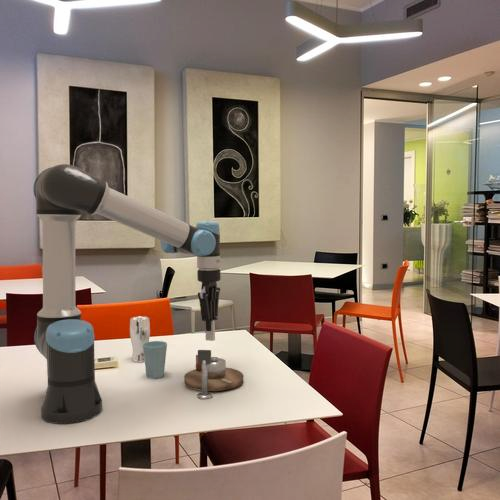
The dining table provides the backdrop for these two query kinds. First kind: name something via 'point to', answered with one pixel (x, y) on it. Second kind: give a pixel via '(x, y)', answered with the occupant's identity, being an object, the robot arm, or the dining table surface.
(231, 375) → the turntable
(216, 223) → the robot arm
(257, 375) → the dining table surface
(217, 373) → the cover
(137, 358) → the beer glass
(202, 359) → the indicator post
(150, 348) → the cup
